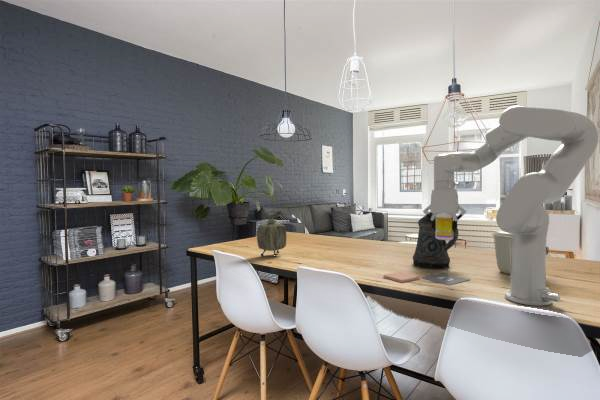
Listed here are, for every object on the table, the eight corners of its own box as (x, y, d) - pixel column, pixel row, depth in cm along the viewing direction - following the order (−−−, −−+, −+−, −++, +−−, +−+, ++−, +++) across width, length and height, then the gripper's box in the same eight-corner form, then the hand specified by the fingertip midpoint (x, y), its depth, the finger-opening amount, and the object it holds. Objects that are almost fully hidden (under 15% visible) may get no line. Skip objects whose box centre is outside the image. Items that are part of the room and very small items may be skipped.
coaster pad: (419, 278, 141) (419, 276, 141) (402, 282, 136) (402, 280, 136) (400, 273, 150) (400, 271, 149) (383, 277, 144) (383, 274, 144)
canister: (492, 266, 160) (492, 220, 159) (540, 270, 151) (540, 222, 150) (490, 275, 144) (490, 224, 144) (544, 280, 135) (544, 226, 134)
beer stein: (412, 260, 175) (411, 211, 174) (454, 262, 170) (454, 211, 169) (413, 268, 159) (413, 213, 158) (459, 270, 154) (459, 213, 153)
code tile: (470, 280, 138) (470, 279, 138) (449, 285, 131) (449, 284, 131) (441, 273, 149) (441, 272, 149) (421, 277, 142) (421, 277, 142)
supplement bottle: (455, 240, 136) (455, 207, 135) (437, 240, 137) (436, 207, 137) (451, 237, 142) (451, 206, 142) (434, 237, 144) (434, 206, 143)
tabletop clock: (278, 253, 202) (277, 209, 201) (288, 255, 195) (287, 210, 194) (257, 256, 193) (256, 211, 192) (266, 259, 186) (265, 211, 185)
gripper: (468, 185, 138) (469, 230, 139) (422, 186, 146) (423, 228, 147) (467, 185, 131) (467, 232, 132) (419, 186, 140) (419, 230, 140)
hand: (444, 230), depth 139 cm, fingers closed on supplement bottle, 6 cm apart
